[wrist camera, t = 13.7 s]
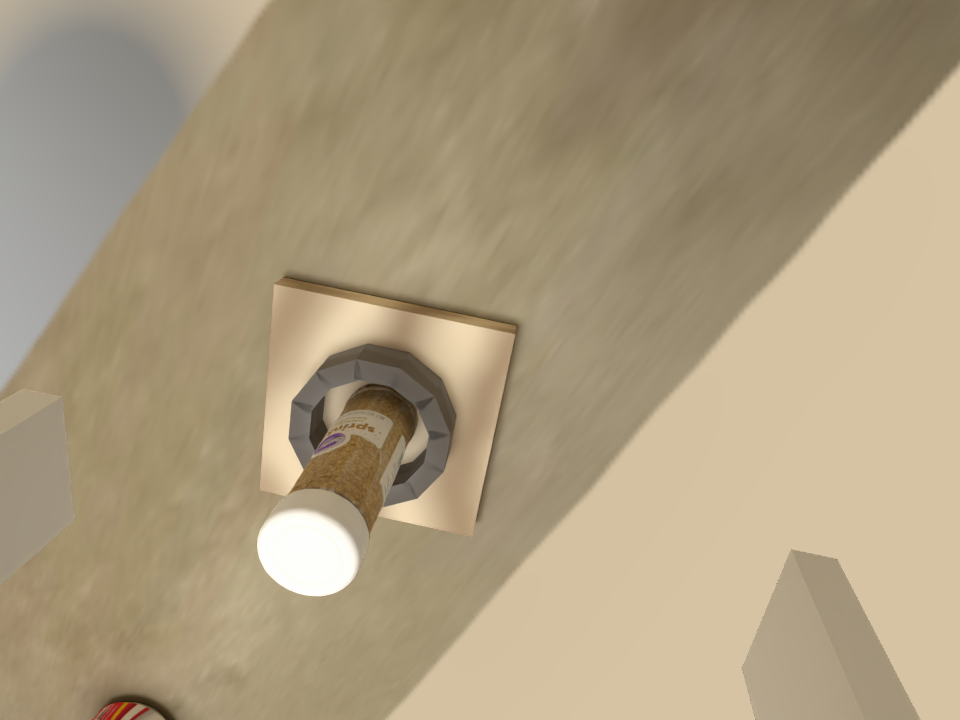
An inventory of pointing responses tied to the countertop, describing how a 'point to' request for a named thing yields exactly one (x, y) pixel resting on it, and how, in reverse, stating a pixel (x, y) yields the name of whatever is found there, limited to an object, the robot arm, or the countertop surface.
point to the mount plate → (395, 364)
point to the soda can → (128, 712)
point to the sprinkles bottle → (338, 495)
